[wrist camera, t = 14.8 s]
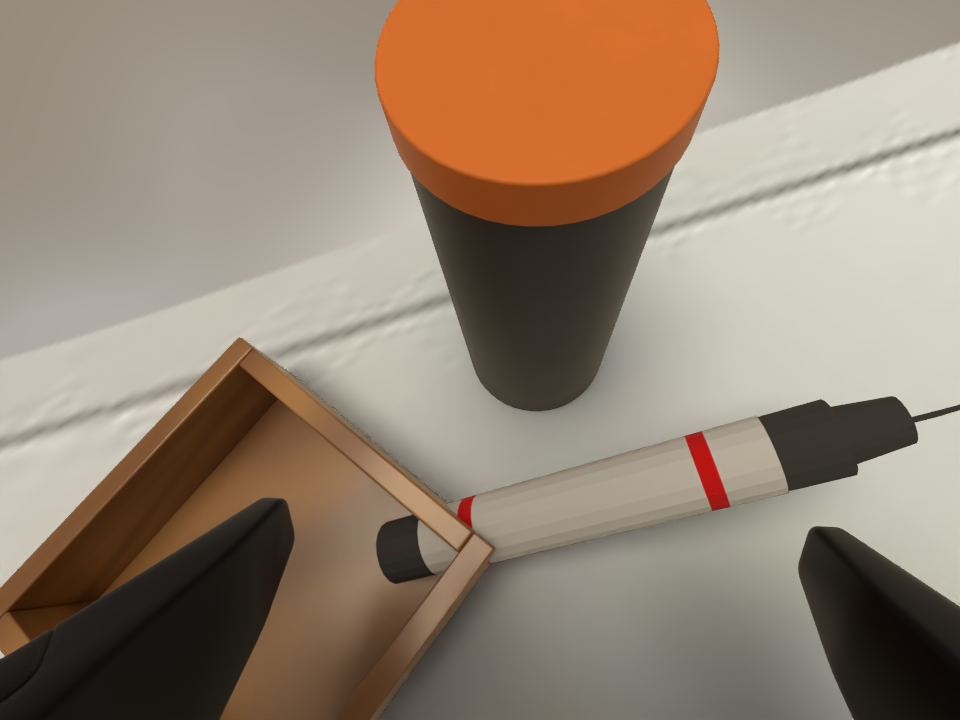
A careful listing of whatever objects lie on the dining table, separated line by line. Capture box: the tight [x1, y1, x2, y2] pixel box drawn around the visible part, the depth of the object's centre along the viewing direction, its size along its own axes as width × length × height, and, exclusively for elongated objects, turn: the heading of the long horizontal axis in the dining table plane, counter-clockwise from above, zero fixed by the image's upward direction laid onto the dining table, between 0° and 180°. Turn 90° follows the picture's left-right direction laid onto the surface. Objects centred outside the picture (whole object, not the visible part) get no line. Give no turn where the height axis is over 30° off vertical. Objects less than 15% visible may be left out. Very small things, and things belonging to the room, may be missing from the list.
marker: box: [376, 396, 960, 584], centre depth 14 cm, size 15×2×2 cm, turn 102°
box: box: [0, 338, 496, 720], centre depth 16 cm, size 10×10×4 cm
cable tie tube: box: [375, 0, 719, 411], centre depth 13 cm, size 5×5×12 cm
